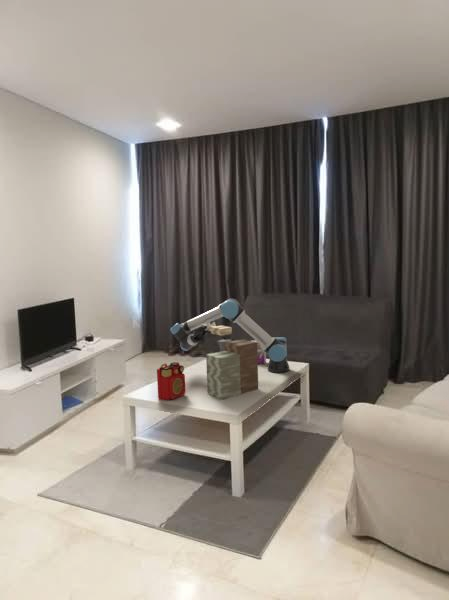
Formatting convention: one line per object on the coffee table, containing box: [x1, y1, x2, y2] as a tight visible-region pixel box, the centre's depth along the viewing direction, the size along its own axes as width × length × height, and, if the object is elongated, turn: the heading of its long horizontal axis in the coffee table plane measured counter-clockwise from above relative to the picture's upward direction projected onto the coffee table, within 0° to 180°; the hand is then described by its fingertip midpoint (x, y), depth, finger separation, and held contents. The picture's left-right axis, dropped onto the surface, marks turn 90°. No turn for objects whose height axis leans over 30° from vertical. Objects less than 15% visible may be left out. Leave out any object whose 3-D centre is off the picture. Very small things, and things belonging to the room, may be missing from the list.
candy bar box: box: [253, 340, 267, 365], centre depth 339 cm, size 11×5×16 cm, turn 71°
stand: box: [205, 338, 259, 400], centre depth 273 cm, size 14×28×29 cm, turn 128°
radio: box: [156, 361, 186, 401], centre depth 268 cm, size 16×10×20 cm, turn 148°
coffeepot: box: [215, 336, 236, 352], centre depth 352 cm, size 15×9×18 cm, turn 107°
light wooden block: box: [201, 323, 233, 336], centre depth 285 cm, size 24×8×4 cm, turn 38°
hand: (212, 324), depth 287 cm, fingers closed on light wooden block, 3 cm apart
